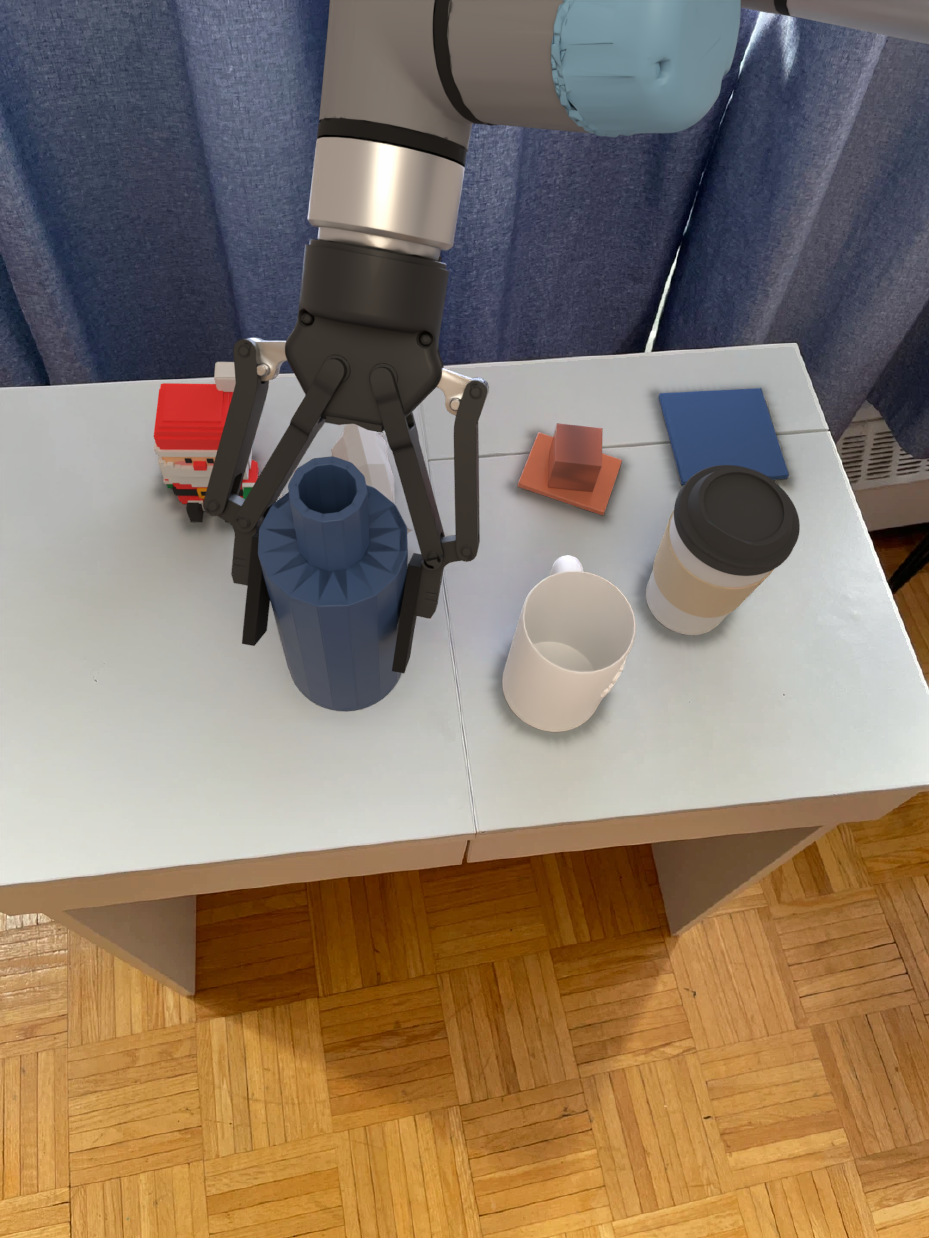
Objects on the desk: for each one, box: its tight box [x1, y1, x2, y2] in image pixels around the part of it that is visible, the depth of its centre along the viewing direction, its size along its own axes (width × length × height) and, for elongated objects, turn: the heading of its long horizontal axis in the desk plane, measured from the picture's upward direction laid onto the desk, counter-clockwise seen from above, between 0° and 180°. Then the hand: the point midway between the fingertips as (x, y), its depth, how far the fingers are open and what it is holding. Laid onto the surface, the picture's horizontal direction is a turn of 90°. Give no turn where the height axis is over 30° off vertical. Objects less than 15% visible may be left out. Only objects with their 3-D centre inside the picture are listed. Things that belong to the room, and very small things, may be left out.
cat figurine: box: [330, 424, 413, 535], centre depth 74 cm, size 4×20×14 cm, turn 14°
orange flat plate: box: [517, 431, 623, 516], centre depth 83 cm, size 8×6×1 cm
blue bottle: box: [258, 455, 409, 713], centre depth 55 cm, size 8×8×21 cm
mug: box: [501, 554, 637, 733], centre depth 70 cm, size 8×12×12 cm
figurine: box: [153, 361, 259, 523], centre depth 75 cm, size 8×7×12 cm
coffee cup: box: [645, 465, 801, 636], centre depth 72 cm, size 9×9×15 cm
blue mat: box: [658, 387, 790, 486], centre depth 87 cm, size 10×10×1 cm
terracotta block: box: [548, 422, 604, 492], centre depth 81 cm, size 4×4×4 cm
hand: (327, 650), depth 56 cm, fingers closed on blue bottle, 8 cm apart
